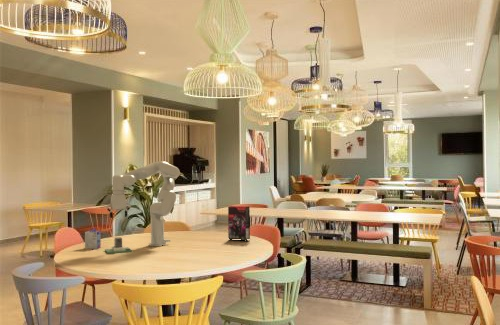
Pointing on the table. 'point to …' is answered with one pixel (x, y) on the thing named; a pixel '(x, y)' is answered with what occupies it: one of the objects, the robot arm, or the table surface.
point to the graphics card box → (239, 222)
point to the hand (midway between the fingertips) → (118, 217)
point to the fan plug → (118, 242)
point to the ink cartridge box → (93, 239)
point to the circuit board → (118, 250)
